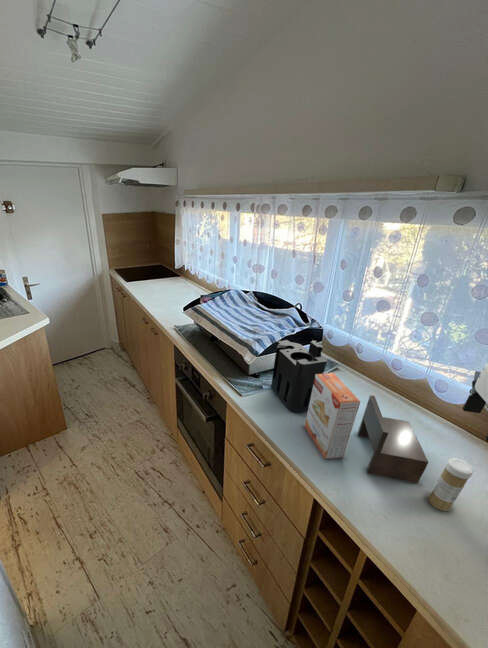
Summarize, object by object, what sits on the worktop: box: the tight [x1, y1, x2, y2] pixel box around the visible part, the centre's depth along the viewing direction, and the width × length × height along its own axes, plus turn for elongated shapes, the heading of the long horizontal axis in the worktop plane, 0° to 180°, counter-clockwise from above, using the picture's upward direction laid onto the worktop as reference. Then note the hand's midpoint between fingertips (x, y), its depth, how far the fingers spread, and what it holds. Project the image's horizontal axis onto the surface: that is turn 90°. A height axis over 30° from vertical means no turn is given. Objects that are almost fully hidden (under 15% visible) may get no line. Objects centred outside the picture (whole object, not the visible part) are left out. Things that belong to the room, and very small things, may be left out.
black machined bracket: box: [270, 339, 329, 413], centre depth 110 cm, size 12×21×22 cm, turn 13°
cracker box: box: [304, 372, 361, 460], centre depth 89 cm, size 14×6×21 cm, turn 5°
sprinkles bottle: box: [428, 457, 474, 512], centre depth 72 cm, size 5×5×13 cm
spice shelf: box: [357, 395, 429, 484], centre depth 85 cm, size 12×16×15 cm
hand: (482, 425), depth 64 cm, fingers open, 9 cm apart
